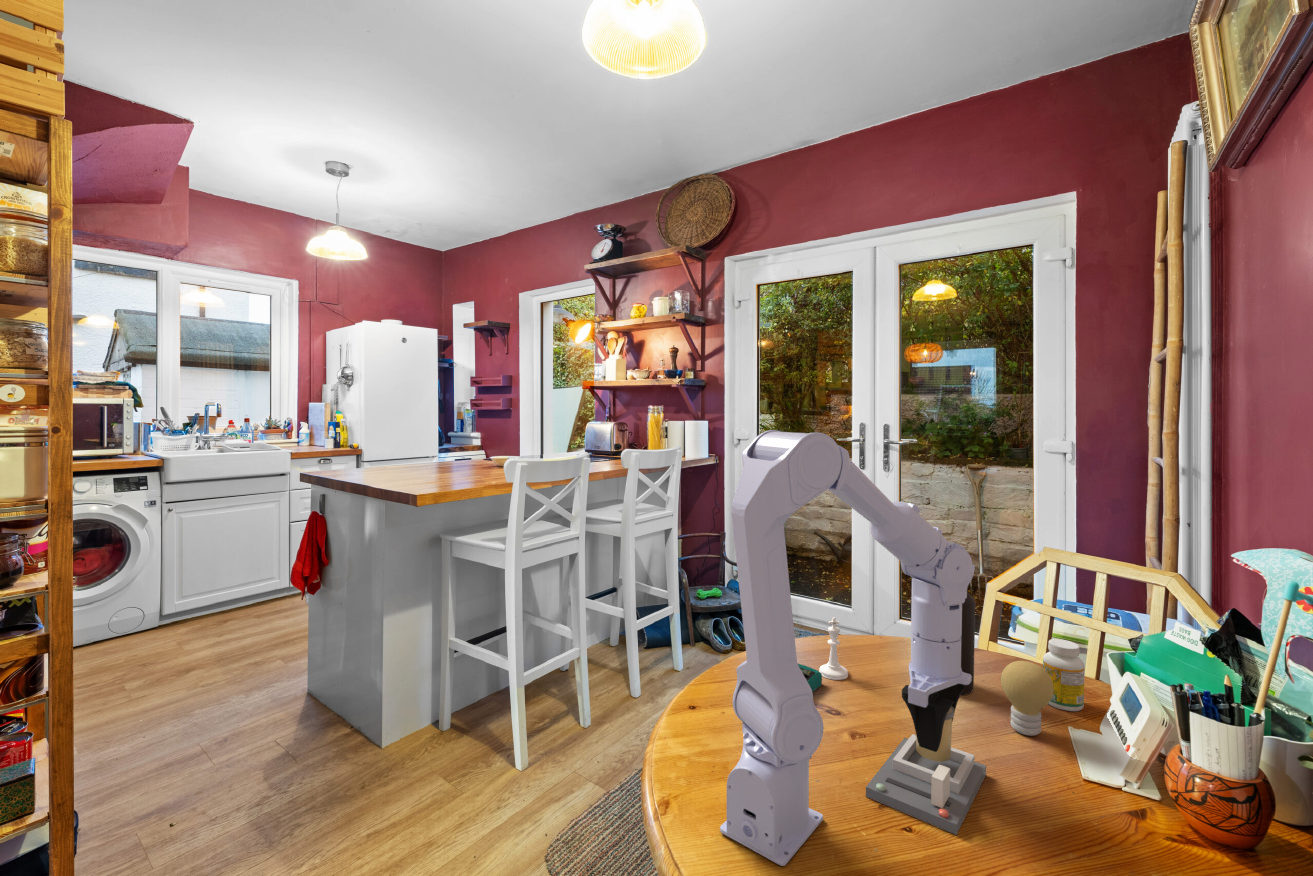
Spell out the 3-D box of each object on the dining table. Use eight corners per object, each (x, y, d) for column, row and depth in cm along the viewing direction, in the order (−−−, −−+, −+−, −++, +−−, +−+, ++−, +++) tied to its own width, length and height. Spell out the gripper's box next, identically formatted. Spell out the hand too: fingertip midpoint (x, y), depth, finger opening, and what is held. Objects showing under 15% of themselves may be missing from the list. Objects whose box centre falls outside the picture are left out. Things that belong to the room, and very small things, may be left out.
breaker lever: (942, 808, 67) (942, 780, 66) (931, 803, 67) (931, 776, 67) (949, 795, 69) (950, 768, 69) (938, 790, 70) (939, 764, 70)
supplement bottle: (1089, 714, 90) (1091, 652, 89) (1049, 709, 91) (1051, 648, 91) (1074, 697, 95) (1076, 638, 94) (1037, 693, 96) (1038, 635, 96)
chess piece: (852, 680, 101) (852, 622, 101) (823, 680, 101) (823, 622, 101) (843, 667, 106) (843, 612, 106) (815, 667, 106) (816, 613, 106)
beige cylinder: (946, 767, 72) (948, 719, 71) (909, 753, 75) (910, 706, 74) (956, 751, 75) (958, 705, 75) (920, 738, 78) (921, 693, 78)
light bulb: (1056, 730, 85) (1057, 662, 85) (1047, 749, 81) (1049, 677, 80) (1005, 715, 90) (1007, 650, 89) (994, 732, 85) (996, 663, 84)
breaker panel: (956, 835, 64) (956, 814, 64) (865, 796, 71) (865, 777, 71) (986, 774, 75) (986, 756, 75) (904, 745, 81) (904, 729, 81)
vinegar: (983, 691, 97) (985, 571, 96) (952, 699, 94) (955, 575, 94) (948, 674, 103) (950, 561, 102) (919, 681, 101) (920, 565, 100)
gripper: (954, 661, 66) (953, 780, 67) (985, 625, 77) (983, 727, 77) (890, 645, 70) (889, 756, 71) (927, 613, 81) (926, 709, 82)
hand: (934, 739), depth 75 cm, fingers closed on beige cylinder, 4 cm apart
